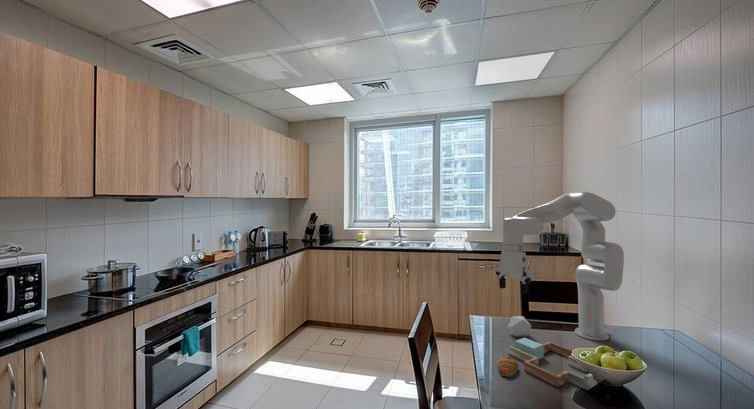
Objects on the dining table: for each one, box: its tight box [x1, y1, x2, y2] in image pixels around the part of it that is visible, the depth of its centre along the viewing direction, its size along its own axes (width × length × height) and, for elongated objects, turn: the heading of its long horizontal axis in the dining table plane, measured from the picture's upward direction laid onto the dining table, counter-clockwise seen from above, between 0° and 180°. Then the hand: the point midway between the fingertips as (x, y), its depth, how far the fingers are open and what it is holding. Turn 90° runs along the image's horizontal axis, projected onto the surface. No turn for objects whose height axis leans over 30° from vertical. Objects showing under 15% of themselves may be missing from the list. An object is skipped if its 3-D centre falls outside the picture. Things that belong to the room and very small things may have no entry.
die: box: [507, 315, 532, 338], centre depth 141 cm, size 8×9×10 cm
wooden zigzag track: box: [507, 341, 599, 391], centre depth 114 cm, size 24×29×4 cm
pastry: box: [497, 356, 520, 378], centre depth 110 cm, size 9×7×4 cm
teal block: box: [514, 337, 545, 361], centre depth 122 cm, size 6×8×5 cm
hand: (513, 290), depth 126 cm, fingers open, 9 cm apart
